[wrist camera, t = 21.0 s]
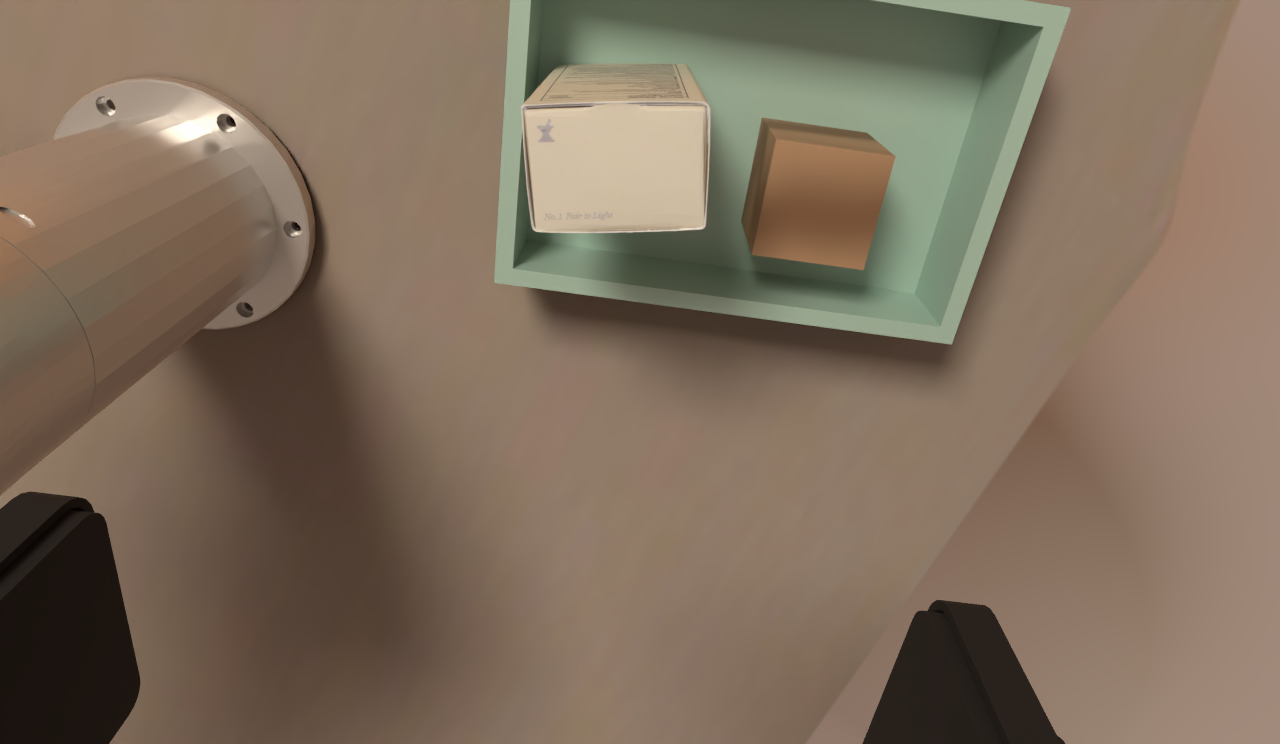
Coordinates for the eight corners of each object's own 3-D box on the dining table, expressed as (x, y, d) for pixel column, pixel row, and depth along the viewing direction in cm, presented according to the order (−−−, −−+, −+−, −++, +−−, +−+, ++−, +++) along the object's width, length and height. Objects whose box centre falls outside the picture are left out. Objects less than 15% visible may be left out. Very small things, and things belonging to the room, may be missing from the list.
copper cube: (761, 117, 37) (776, 139, 33) (867, 132, 37) (895, 156, 33) (741, 221, 39) (751, 254, 35) (840, 235, 39) (863, 270, 35)
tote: (511, 247, 41) (494, 282, 36) (533, -75, 34) (514, -80, 30) (920, 303, 42) (951, 344, 38) (1018, 1, 35) (1071, 7, 31)
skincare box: (561, 158, 38) (523, 238, 27) (555, 59, 36) (512, 102, 25) (693, 157, 38) (707, 237, 27) (695, 57, 36) (711, 100, 25)
